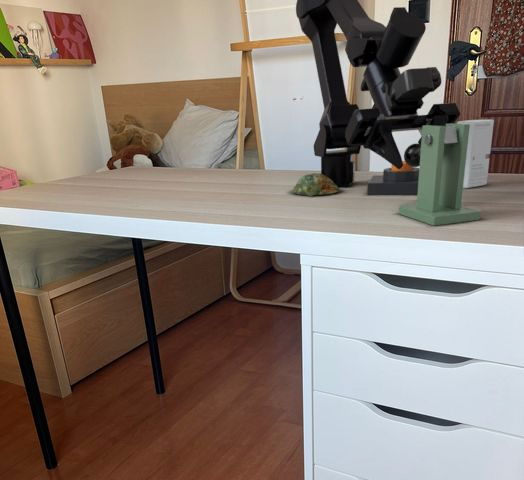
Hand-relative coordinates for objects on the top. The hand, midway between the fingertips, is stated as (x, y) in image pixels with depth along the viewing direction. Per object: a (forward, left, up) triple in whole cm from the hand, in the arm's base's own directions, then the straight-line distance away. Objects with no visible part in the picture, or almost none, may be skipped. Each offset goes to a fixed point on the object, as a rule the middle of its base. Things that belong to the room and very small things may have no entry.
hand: (419, 165), depth 85 cm
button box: (-4, +19, -7) cm, 21 cm away
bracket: (+3, -5, -7) cm, 9 cm away
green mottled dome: (-21, +17, -7) cm, 28 cm away
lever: (+2, -2, +1) cm, 3 cm away
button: (-4, +19, -3) cm, 20 cm away
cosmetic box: (+9, +24, -7) cm, 27 cm away
